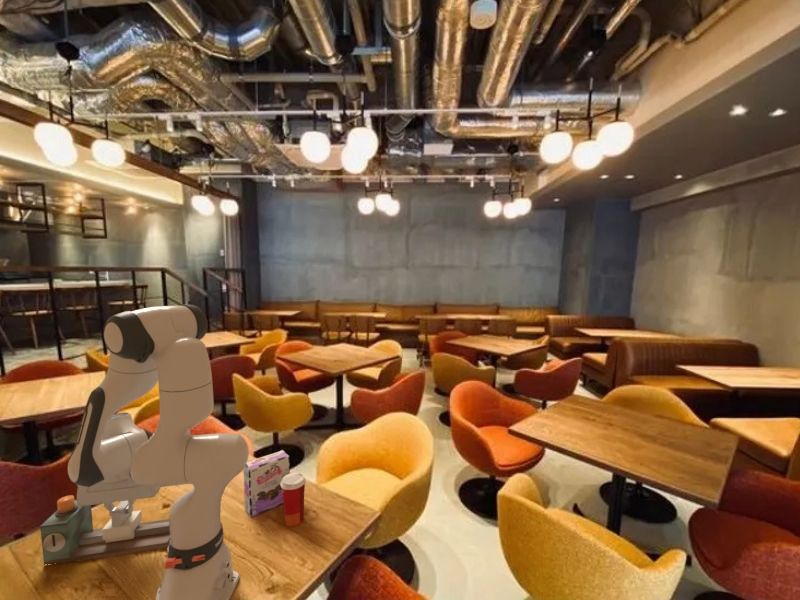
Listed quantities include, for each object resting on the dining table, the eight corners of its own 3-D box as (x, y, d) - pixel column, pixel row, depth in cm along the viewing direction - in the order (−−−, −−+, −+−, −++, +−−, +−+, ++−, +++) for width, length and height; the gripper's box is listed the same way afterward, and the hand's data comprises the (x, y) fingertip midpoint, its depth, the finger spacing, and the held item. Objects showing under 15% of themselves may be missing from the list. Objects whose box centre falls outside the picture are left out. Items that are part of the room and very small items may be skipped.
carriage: (131, 541, 107) (129, 512, 106) (103, 545, 105) (100, 516, 104) (142, 525, 113) (140, 497, 113) (116, 528, 112) (113, 501, 111)
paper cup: (297, 509, 123) (296, 469, 122) (311, 519, 119) (310, 477, 117) (276, 521, 117) (274, 479, 116) (290, 532, 113) (289, 488, 111)
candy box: (250, 518, 119) (248, 469, 118) (244, 509, 124) (242, 462, 122) (291, 501, 128) (289, 455, 126) (284, 493, 132) (283, 448, 131)
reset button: (69, 512, 104) (69, 502, 104) (54, 514, 103) (53, 504, 103) (77, 504, 107) (77, 494, 107) (63, 506, 107) (62, 496, 106)
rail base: (166, 548, 106) (164, 509, 105) (42, 567, 100) (38, 526, 99) (181, 521, 118) (178, 486, 117) (70, 537, 111) (66, 499, 110)
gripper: (69, 479, 102) (73, 526, 103) (152, 469, 106) (155, 515, 108) (83, 467, 108) (87, 512, 109) (161, 458, 113) (164, 502, 114)
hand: (121, 513), depth 109 cm, fingers closed on carriage, 2 cm apart
